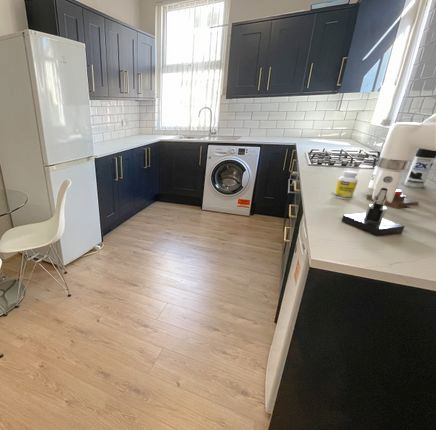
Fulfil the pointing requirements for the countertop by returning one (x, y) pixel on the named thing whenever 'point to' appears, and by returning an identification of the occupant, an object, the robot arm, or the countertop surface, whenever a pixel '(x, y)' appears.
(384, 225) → the panel
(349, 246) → the countertop surface
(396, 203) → the button housing
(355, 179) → the pill bottle
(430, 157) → the spray can
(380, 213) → the robot arm
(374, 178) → the candle
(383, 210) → the knob
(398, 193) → the button
